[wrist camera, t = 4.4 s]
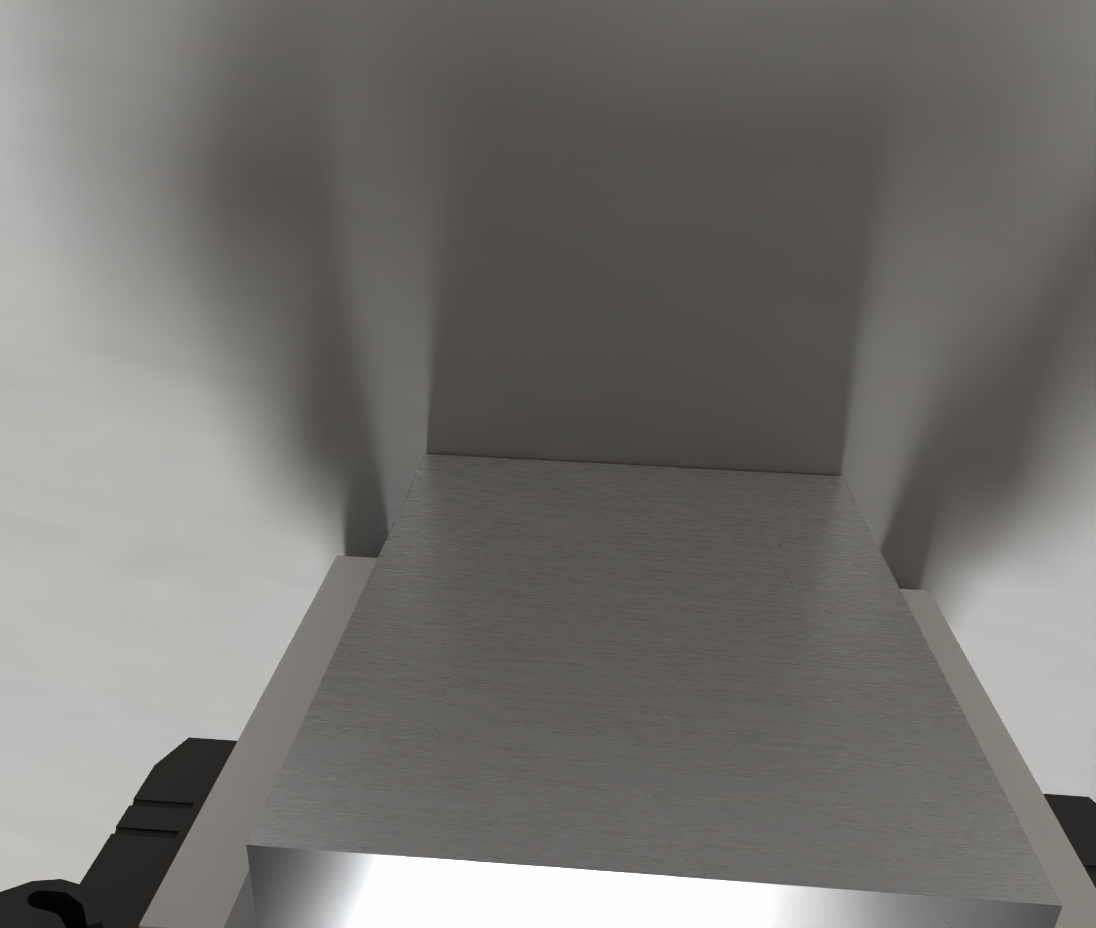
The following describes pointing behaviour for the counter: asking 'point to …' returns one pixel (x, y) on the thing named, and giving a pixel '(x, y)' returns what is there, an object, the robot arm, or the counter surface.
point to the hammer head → (636, 722)
